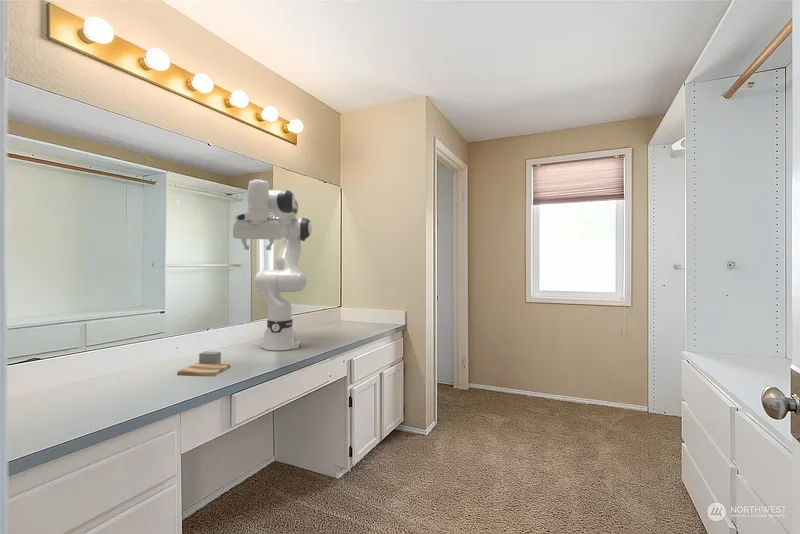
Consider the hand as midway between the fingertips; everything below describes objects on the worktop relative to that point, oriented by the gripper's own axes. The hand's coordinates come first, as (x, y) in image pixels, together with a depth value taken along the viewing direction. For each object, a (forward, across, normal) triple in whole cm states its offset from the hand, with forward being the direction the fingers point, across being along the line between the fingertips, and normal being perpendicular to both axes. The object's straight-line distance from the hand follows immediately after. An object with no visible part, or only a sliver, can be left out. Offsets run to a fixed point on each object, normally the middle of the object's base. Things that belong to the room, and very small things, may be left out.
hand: (257, 249), depth 172 cm
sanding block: (+48, +17, +5) cm, 51 cm away
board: (+48, +14, +15) cm, 52 cm away
